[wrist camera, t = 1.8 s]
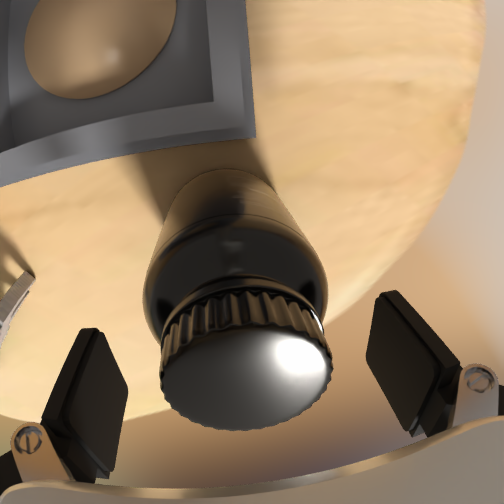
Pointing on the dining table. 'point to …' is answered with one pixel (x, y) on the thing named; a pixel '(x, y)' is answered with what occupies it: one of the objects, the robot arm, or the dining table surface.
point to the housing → (118, 79)
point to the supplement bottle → (237, 306)
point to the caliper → (13, 302)
